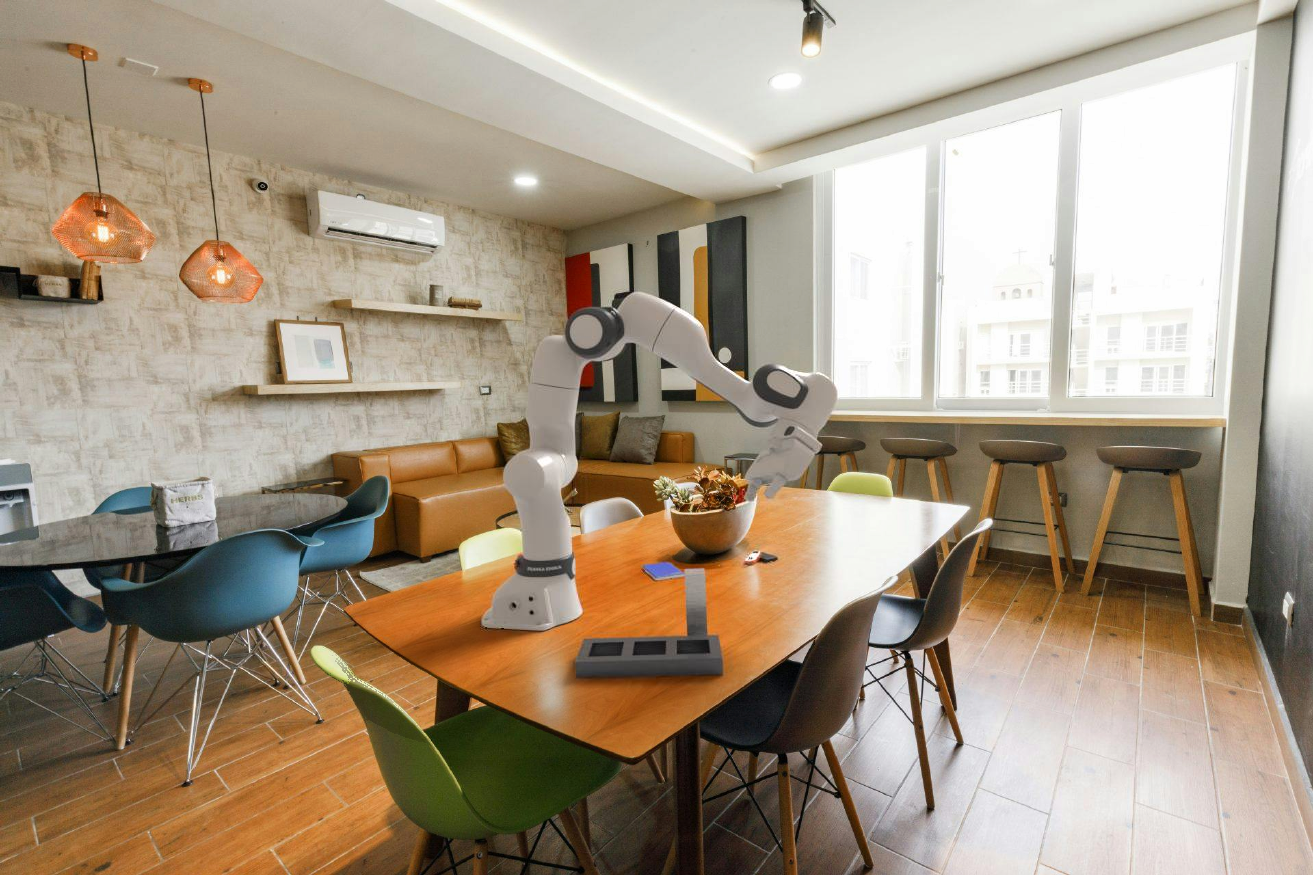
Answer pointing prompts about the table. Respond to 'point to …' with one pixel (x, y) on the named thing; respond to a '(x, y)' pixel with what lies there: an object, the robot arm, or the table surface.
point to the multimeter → (759, 558)
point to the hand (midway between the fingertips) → (757, 498)
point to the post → (695, 602)
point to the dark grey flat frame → (649, 656)
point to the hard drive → (663, 571)
